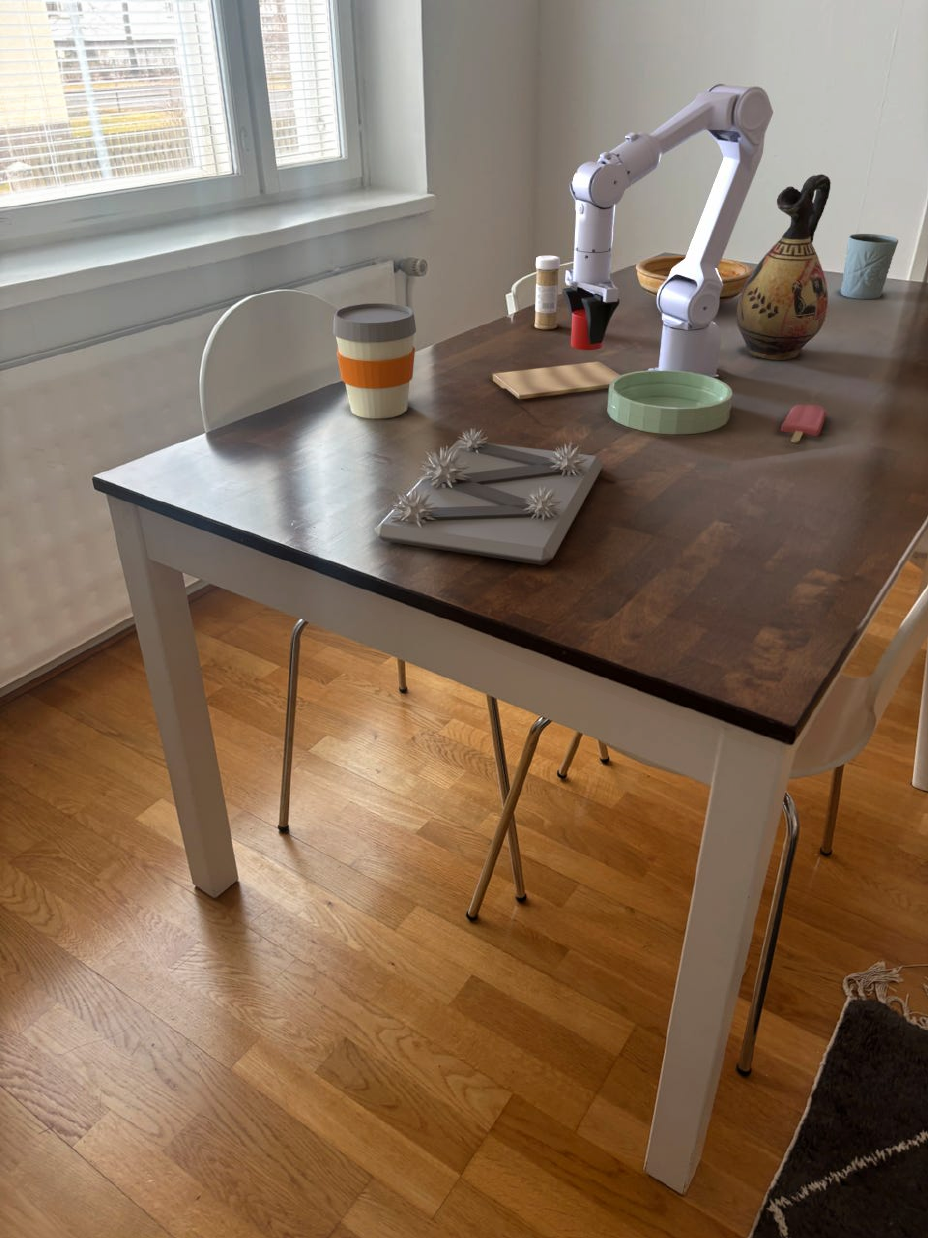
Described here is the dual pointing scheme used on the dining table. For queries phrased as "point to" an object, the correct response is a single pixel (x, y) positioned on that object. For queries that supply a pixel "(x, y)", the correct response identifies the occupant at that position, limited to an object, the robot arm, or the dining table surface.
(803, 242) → the ceramic jug
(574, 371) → the cutting board
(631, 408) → the bowl
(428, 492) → the decorative plate
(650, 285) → the ceramic bowl
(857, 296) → the blue embossed cup
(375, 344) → the reusable coffee cup
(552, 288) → the sprinkles bottle
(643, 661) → the dining table surface
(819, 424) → the popsicle
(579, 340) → the pepper
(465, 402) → the dining table surface
